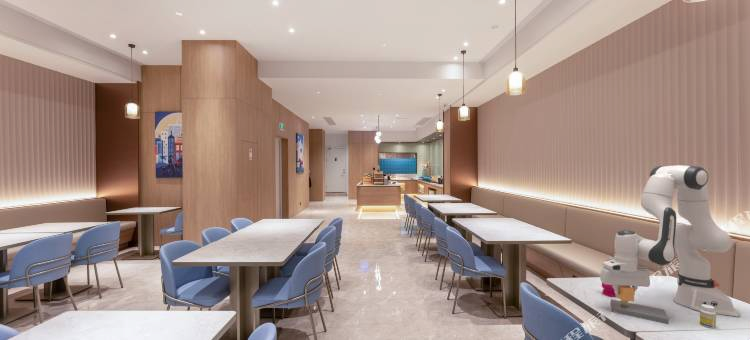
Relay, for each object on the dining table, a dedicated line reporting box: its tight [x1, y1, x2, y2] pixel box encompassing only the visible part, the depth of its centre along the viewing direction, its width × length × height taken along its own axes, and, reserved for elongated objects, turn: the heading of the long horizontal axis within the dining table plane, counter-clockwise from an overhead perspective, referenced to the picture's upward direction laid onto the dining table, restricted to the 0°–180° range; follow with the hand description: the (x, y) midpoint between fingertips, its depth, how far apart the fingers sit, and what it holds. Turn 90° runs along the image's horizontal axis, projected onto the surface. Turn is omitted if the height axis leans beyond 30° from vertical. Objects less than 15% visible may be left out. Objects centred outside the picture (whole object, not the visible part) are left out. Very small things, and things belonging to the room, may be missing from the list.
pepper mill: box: [601, 256, 617, 298], centre depth 172 cm, size 7×7×20 cm
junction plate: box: [610, 298, 670, 325], centre depth 151 cm, size 20×12×7 cm, turn 55°
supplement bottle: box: [699, 304, 717, 329], centre depth 139 cm, size 5×5×8 cm
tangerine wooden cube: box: [615, 285, 635, 302], centre depth 153 cm, size 5×5×6 cm
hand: (624, 294), depth 153 cm, fingers closed on tangerine wooden cube, 5 cm apart
